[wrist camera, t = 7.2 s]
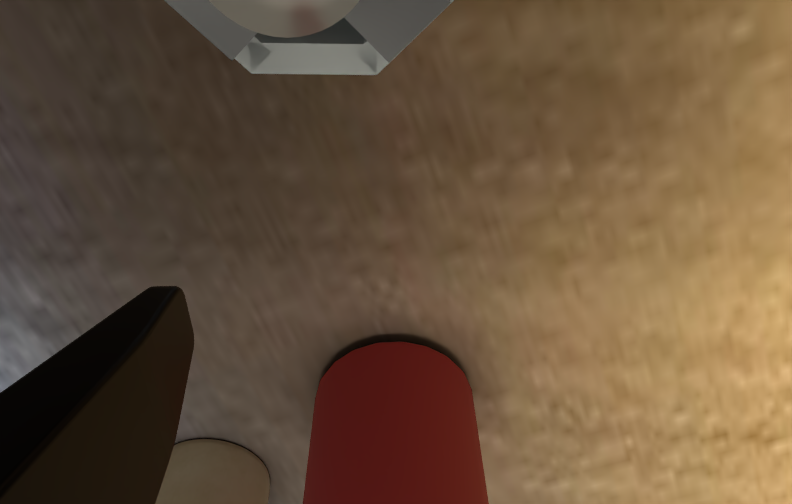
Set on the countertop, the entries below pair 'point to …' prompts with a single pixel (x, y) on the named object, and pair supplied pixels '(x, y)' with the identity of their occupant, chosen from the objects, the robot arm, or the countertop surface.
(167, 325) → the robot arm
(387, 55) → the grey faceted drum
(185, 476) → the candle
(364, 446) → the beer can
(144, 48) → the countertop surface
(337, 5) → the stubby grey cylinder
